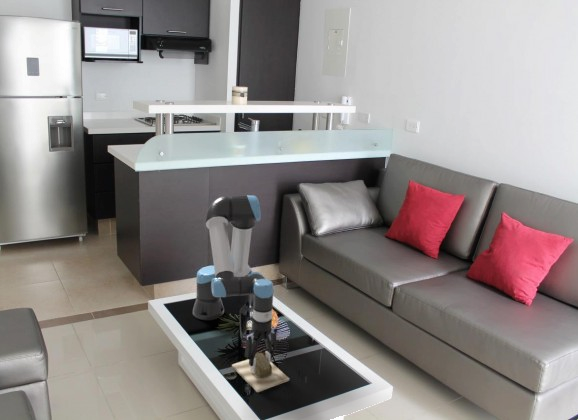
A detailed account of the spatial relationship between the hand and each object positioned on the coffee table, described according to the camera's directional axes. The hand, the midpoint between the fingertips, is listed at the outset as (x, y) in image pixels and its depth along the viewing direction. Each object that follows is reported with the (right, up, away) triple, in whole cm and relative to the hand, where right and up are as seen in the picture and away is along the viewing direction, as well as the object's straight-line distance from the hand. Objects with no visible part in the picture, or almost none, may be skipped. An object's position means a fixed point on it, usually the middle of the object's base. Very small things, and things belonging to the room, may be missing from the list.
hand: (260, 369), depth 222 cm
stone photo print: (0, -2, 0) cm, 2 cm away
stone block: (0, -1, 0) cm, 1 cm away
